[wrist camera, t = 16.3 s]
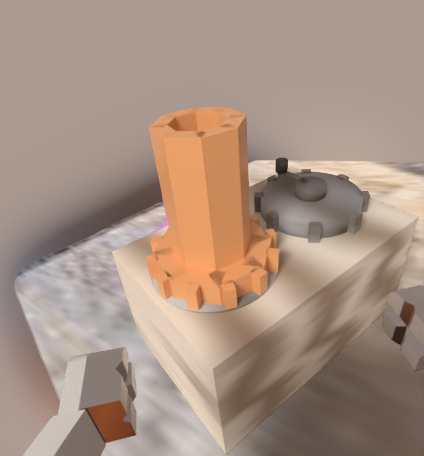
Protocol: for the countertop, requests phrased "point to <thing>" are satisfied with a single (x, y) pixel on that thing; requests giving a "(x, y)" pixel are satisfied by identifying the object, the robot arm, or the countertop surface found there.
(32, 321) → the countertop surface
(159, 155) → the orange gear
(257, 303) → the gearbox
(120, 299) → the countertop surface
